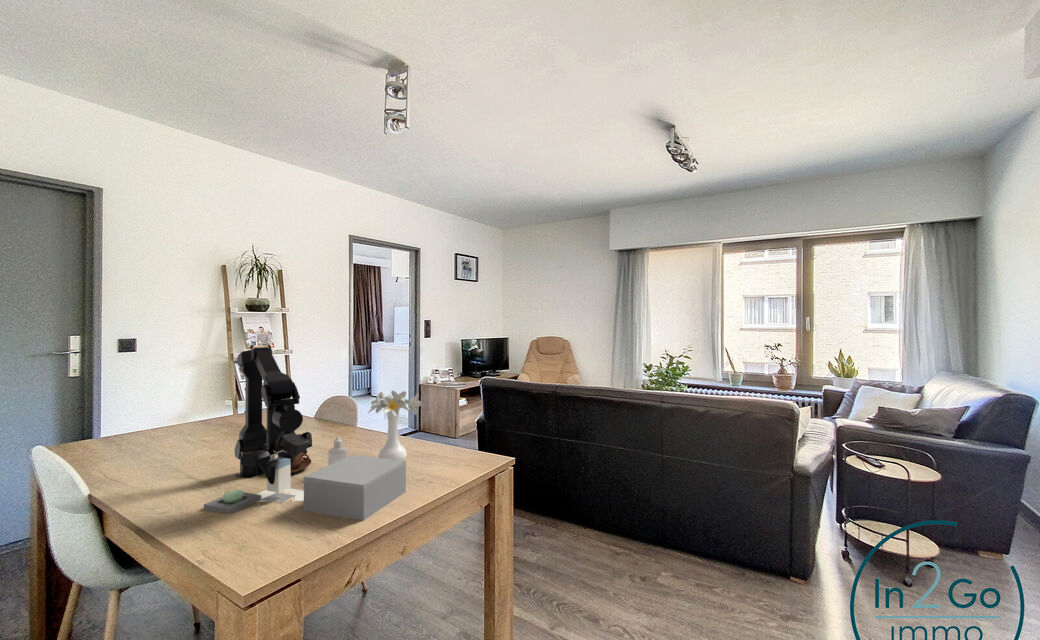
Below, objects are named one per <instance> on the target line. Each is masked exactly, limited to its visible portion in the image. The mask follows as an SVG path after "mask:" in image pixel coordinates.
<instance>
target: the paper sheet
mask: <svg viewBox="0 0 1040 640" xmlns="http://www.w3.org/2000/svg"><path fill="white" fill-rule="evenodd" d="M283 491H284V492H286V493H285V494H284V492H283V493H281V492H282V491H281V492H280V493H277V492H271V491H267V489H266V490H263V491H261V492H259V493H257V494H258V495H261V500H259V501H257V502H256V503H259V502H260V503H261V502H262V503H263V502H271V503H277V502H278V503H279V504H282V503H284V502H287V501H286V500H288V499H290V498H291V499H293V498H292V497H295V500H292V501H291V502H297V501H298V502H300V501H301V502H304V489H303V490H302V489H298V488H297V489H296V488H291V487H290V488H287V489H285V490H283ZM288 492H289V494H287V493H288ZM290 493H291V495H290ZM278 496H279V497H278ZM281 497H282V498H281ZM296 500H297V501H296ZM279 501H280V502H279ZM278 503H277V504H278Z"/></svg>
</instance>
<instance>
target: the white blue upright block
mask: <svg viewBox="0 0 1040 640" xmlns="http://www.w3.org/2000/svg"><path fill="white" fill-rule="evenodd" d="M275 460H279V461H278V462H277V464H276V465H275V480H274V484H270V483H269V481H268V479H267V478H266V490H267V491H271V492H277V493H279V492H281V491H283V490H285V489H287V488H290V489H291V488H292V487H291V484H292V483H291V475H292V473H291V459H290V458H283V457H278V456H277V457H275Z"/></svg>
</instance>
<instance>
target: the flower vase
mask: <svg viewBox="0 0 1040 640" xmlns="http://www.w3.org/2000/svg"><path fill="white" fill-rule="evenodd" d="M406 396H407V392H406V391H405V390H404V391H401V392H396V391H395V390H391V393H390V394H388V395H387V396H385V394H384V392H383V391H379V393H377V396H376V398H375V399H374V400H372V401H371V403H370V404H371V406H370V409H369V411H368V412H367V414H369V413H371V412H372V411H375V413H376V414H378V413H379V412H380V411H382V410H383V413H385V414H386V415H387V421H388V422H387V425H388V426H387V439H386V440H385V441H386V442H385V444H384V446H383V447H382V448H381V449H380V450H379V452H378V456H377V458H384V459H392V460H401V461H406V458H407V456H408V454H407V448H405V447H404V446H403V445H402V443H401V442H400V439H399V434H398V433H399V432H398V417H399V415H400V409H403V410H406V411H408V412H409V413H413V414H414V415H415V416H417V415H418V408H419V407H421V406H422V404H423V403H422V400H421V401H420V400H418V398H419V396H420V395H419V393H416V394H415V395H414V397H410V399H408V398H406Z"/></svg>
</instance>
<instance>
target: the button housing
mask: <svg viewBox="0 0 1040 640" xmlns="http://www.w3.org/2000/svg"><path fill="white" fill-rule="evenodd" d="M259 500H261V495H258V493H252V492H245V491H243V499H242V500H240V501H237V502H233V503H231V504H230V503H224V502H223V496H220V497H218V498H216V499H214V500H211V501H208V502H206V503H204V504H203V510H207V511H211V512H212V511H213V512H217V513H223V514H229V515H231V514H232V513H235V512H237V511H240V510H242V509H243V508H246V507H248V506H250V505H252V504H254V503H258V502H257V501H259Z"/></svg>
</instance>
